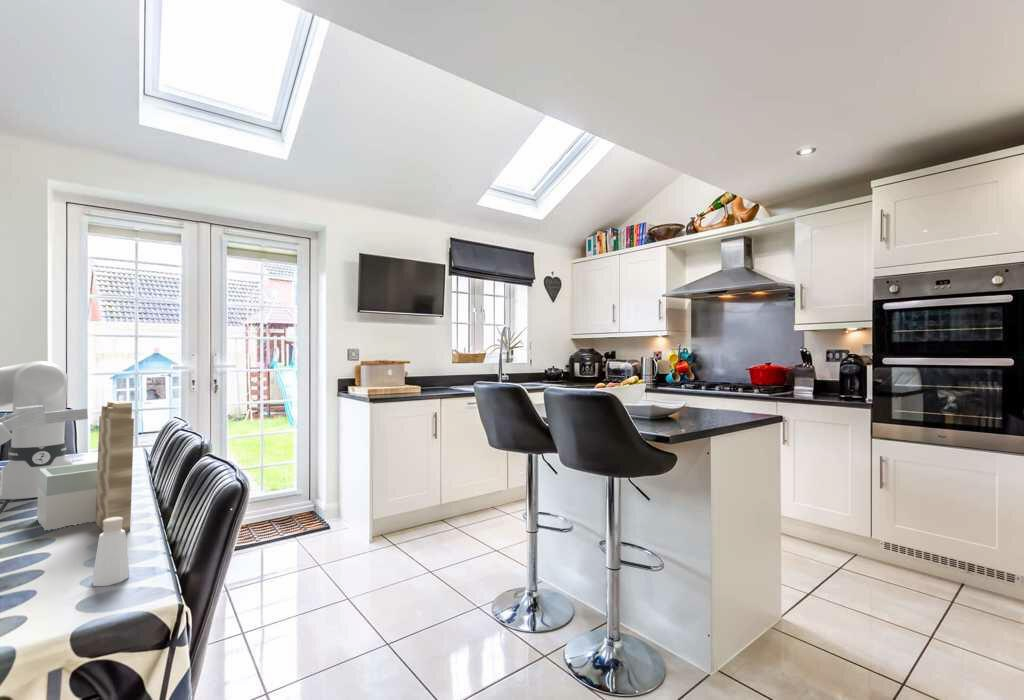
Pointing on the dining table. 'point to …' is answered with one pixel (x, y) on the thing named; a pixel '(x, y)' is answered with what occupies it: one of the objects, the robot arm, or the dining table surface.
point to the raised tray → (67, 495)
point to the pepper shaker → (111, 554)
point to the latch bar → (50, 415)
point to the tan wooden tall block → (115, 463)
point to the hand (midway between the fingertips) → (30, 412)
